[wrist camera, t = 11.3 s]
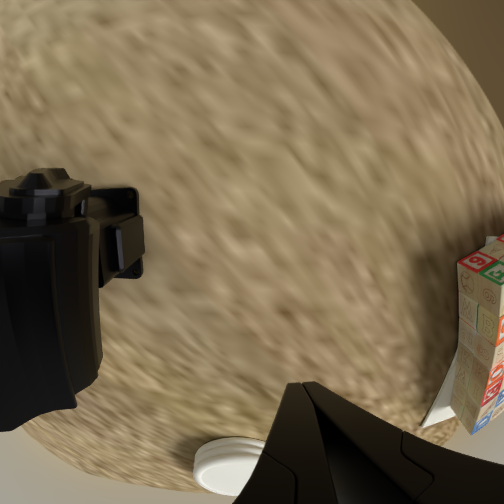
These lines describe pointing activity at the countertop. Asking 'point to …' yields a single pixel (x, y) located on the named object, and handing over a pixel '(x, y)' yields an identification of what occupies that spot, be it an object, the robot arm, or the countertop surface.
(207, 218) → the countertop surface
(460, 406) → the stack of blocks
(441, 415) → the mat
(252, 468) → the white ridged disc
